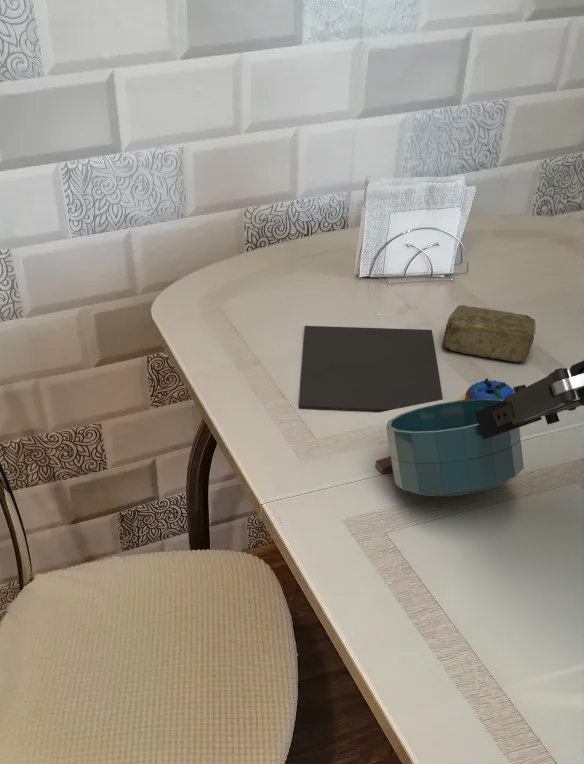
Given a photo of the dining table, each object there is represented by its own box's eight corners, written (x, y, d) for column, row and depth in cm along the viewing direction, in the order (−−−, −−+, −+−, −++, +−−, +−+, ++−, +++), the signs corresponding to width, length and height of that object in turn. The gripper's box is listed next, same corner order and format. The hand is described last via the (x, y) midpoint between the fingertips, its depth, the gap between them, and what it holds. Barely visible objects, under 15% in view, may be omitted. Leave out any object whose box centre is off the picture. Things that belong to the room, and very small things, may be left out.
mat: (431, 332, 113) (431, 329, 113) (444, 415, 99) (445, 411, 98) (304, 328, 115) (304, 325, 115) (298, 408, 101) (298, 405, 100)
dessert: (496, 382, 102) (517, 364, 96) (515, 429, 101) (537, 414, 95) (439, 398, 101) (457, 381, 95) (458, 446, 100) (477, 432, 94)
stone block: (526, 367, 106) (535, 334, 102) (439, 353, 109) (445, 320, 106) (531, 345, 110) (539, 313, 106) (446, 332, 113) (452, 300, 110)
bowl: (519, 453, 88) (512, 392, 86) (528, 490, 77) (520, 420, 75) (400, 468, 93) (391, 410, 91) (391, 505, 81) (381, 439, 79)
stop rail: (461, 443, 94) (464, 433, 93) (469, 450, 93) (472, 440, 92) (374, 470, 91) (375, 460, 90) (381, 478, 90) (382, 468, 89)
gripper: (657, 408, 52) (442, 476, 74) (785, 374, 56) (546, 447, 78) (621, 300, 52) (418, 399, 74) (751, 275, 57) (523, 375, 79)
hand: (484, 424), depth 76 cm, fingers closed
